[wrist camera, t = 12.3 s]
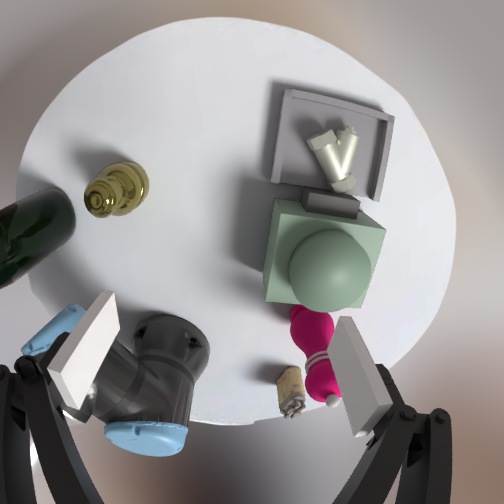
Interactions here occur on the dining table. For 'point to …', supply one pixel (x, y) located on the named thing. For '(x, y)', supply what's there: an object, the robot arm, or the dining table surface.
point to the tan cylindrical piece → (291, 392)
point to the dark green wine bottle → (33, 232)
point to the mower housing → (320, 251)
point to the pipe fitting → (336, 156)
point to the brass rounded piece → (116, 190)
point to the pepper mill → (316, 352)
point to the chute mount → (335, 118)
